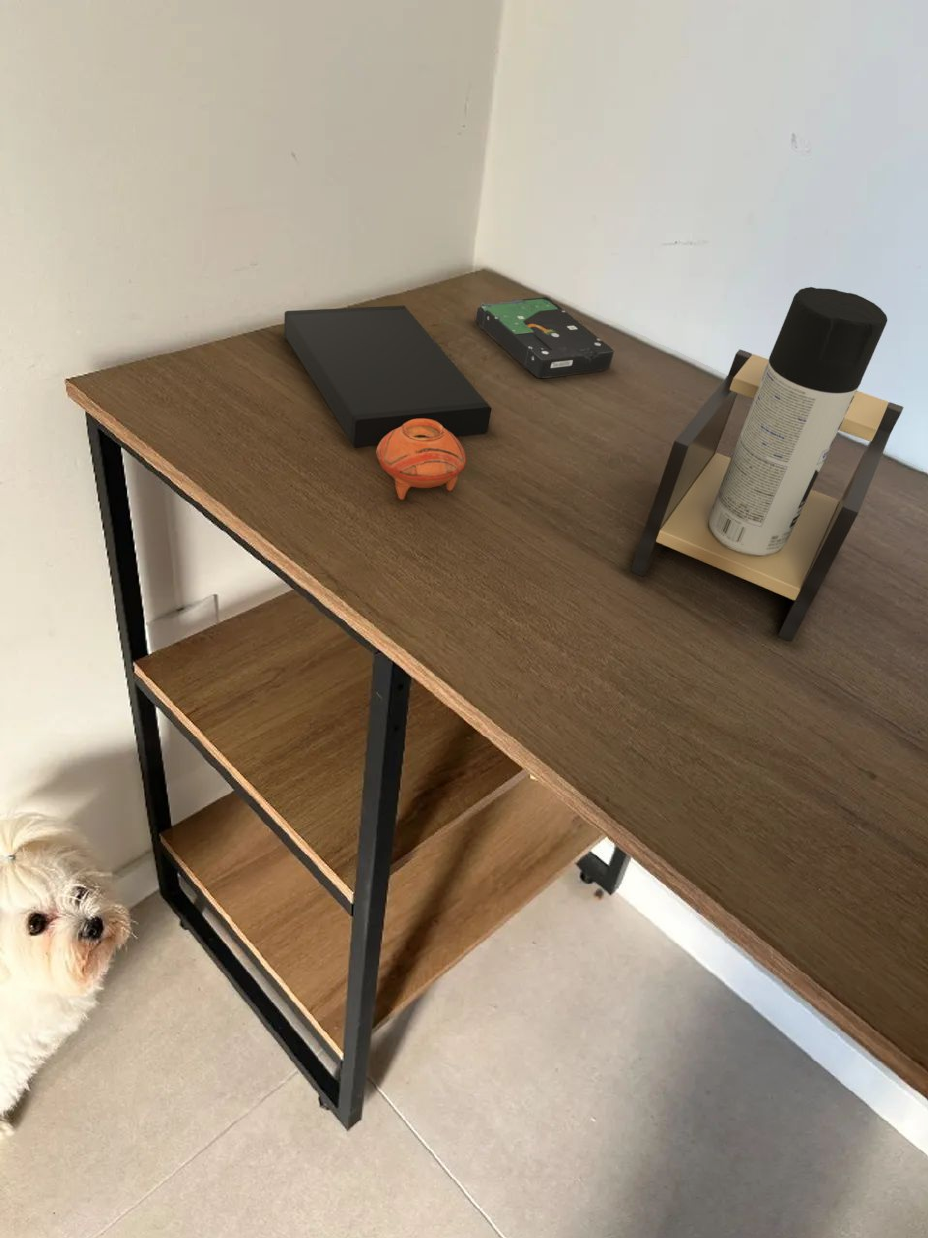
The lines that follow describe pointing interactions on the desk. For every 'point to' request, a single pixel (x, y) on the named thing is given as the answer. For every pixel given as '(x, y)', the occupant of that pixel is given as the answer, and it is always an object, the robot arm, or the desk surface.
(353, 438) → the external hard drive
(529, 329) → the disk drive
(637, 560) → the shelf
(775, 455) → the spray can
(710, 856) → the desk surface
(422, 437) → the pot
